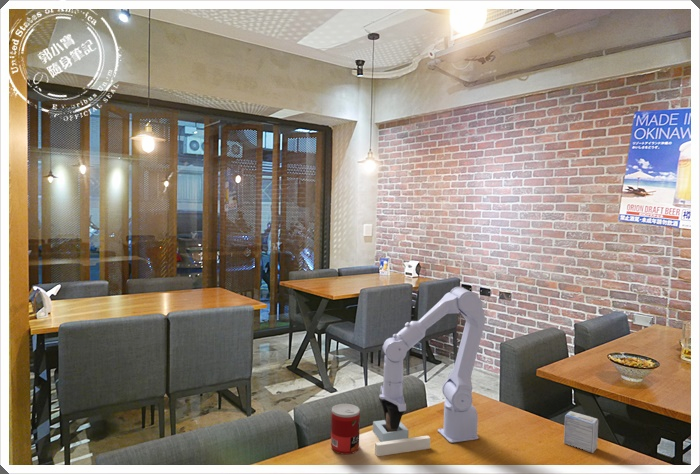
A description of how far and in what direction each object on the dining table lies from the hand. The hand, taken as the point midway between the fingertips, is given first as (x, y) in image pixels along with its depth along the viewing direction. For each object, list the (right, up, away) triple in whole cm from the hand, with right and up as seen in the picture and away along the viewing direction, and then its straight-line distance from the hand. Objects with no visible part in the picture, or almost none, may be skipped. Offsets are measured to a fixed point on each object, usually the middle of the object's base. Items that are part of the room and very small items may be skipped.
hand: (391, 425), depth 133 cm
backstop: (+2, -4, -7) cm, 9 cm away
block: (0, -4, +1) cm, 4 cm away
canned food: (-14, -4, -6) cm, 16 cm away
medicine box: (+54, -5, -2) cm, 55 cm away
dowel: (0, -2, 0) cm, 2 cm away
